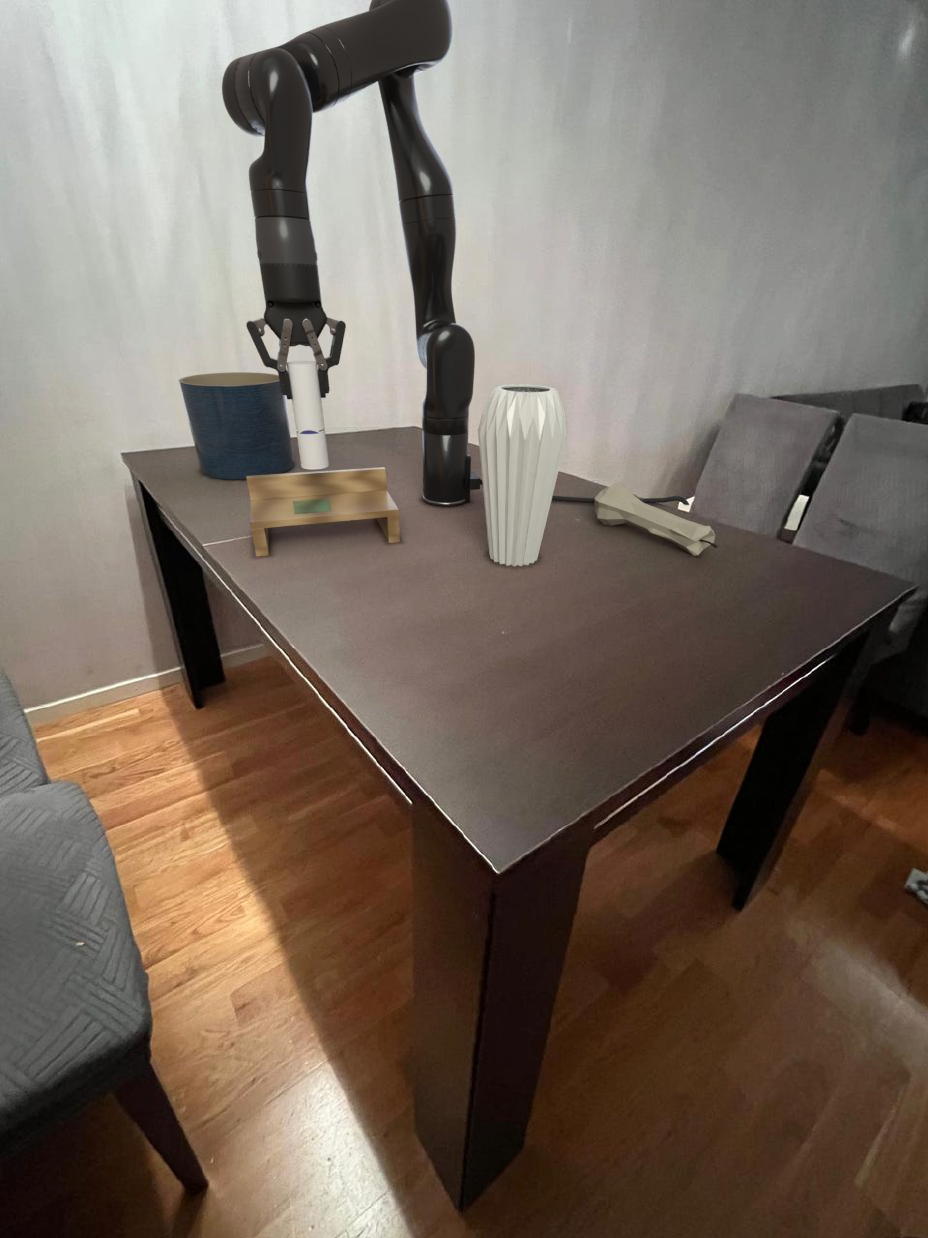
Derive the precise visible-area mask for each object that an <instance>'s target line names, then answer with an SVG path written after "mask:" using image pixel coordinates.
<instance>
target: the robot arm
mask: <svg viewBox="0 0 928 1238" xmlns="http://www.w3.org/2000/svg"><path fill="white" fill-rule="evenodd" d="M452 16H453V15H452V11H451V7H450V3H449V0H371V1H370V4H369V7H368V10H367V11H365V12H361V13H358V14H355V15H352V16H349V17H345V18H342V19H339V20H335V21H333V22H329V23H326V24H323V25H320V26H318V27H315V28H313V29H310V30H308V31H305V32H303V33H301V34H298V35H296V36H295V37H293V38H292V39H290V40H289V41H287V42H285V43H283V44H280V45H278V46H275V47H270V48H268V49H263V50H260V51H259V50H258V51H256V52H252V53H250V54H246V55H243V56H240V57H237V58H235V59H233V60H232V61H230V63H228V65H227V67H226V69H224V70H225V71H224V73H223V75H222V81H221V95H222V101H223V105H224V107H225V109H226V112H227V114H228V116H229V117H230V119H231V121H232V122H233V123H234V124H235V125H236V126H237V127H238V128H239V129H240V130H241V131H242V132H243V133H245V134H247V135H250V136H251V137H255V138H264V140H263V150H262V153H261V154H260V155H259V157H257V159H255V160H254V161H252V163H251V164H250V165H249V169H248V183H249V191H250V197H251V204H252V210H253V211H252V212H253V218H254V227H255V244H256V250H257V251H256V254H257V258H258V263H259V264H258V265H259V271H260V276H261V283H262V289H263V296H264V303H265V310H264V313H263V316H262V317H260V318H256V319H254V320H247V321H246V323H245V324H246V329H247V331H248V334H249V336H250V338H251V340H252V342H253V344H254V346H255V349H256V350H257V353H258V355H259V357H260V359H261V361H262V364H263V365H264V367H266V368H270V369H273V370H275V371H276V372H277V375H279V382H280V389H281V392H282V394H283V395H286V400H292V394H291V387H290V380H289V373H288V370H287V362H288V357H289V353H290V348H291V347H296V346H303V347H309V348H310V351H311V353H312V355H313V357H314V361H315V362H317V367H318V376H319V385H320V394H321V399H326V398H327V395H326V394H329V393H330V390H331V389H330V380H329V369H330V368H333V367H335V366H338V365H339V364H340V362H341V361H340V360H341V355H342V349H343V344H344V339H345V333H346V328H347V323H346V322H345V321H343V320H341V319H335V318H331V317H328V316H327V313H326V312H325V310H324V307H323V302H322V293H321V285H320V275H319V265H318V260H319V259H318V258H319V257H318V253H317V247H316V240H315V234H314V232H313V225H312V221H311V220H312V219H311V209H310V200H309V191H308V184H307V181H308V171H309V165H310V155H311V142H312V130H313V114H317V113H318V114H319V113H324V112H325V111H328V110H330V109H332V108H334V107H336V106H338V105H339V104H341V103H344V102H346V101H347V100H349V99H351V98H353V97H355V96H356V95H357V94H359V93H360V92H363V91H364V90H366V89H367V88H369V87H371V86H373V85H374V84H376V83H377V85H378V90H379V94H380V99H381V103H382V107H383V113H384V117H385V123H386V128H387V133H388V139H389V145H390V153H391V159H392V165H393V171H394V177H395V185H396V194H397V203H398V211H399V217H400V224H401V231H402V237H403V241H404V242H403V243H404V248H405V255H406V262H407V267H408V272H409V273H408V274H409V277H410V283H411V288H412V294H413V295H412V296H413V304H414V306H413V307H414V323H415V325H414V326H415V346H416V353H417V357H418V359H419V362H420V363H421V365H422V366H423V368H424V369H425V370H426V389H425V395H424V397H423V398H422V400H421V430H422V431H421V432H422V434H421V435H422V436H421V437H422V438H421V439H422V488H423V489H422V493H423V494H422V500H423V502H425V503H426V504H429V505H432V506H438V507H454V506H459V505H462V504H465V503H470V502H471V491H476V490H477V491H478V490H481V486H483V482H482V477H480V476H479V475H477V474H476V473H475V472H474V471H472V456H471V455H470V454H469V425H470V424H469V423H470V407H471V403H472V400H473V396H474V382H475V368H476V367H475V366H476V364H475V363H476V352H475V351H476V350H475V345H474V344H475V343H474V340H473V337H472V336H471V334H470V331H468V330H467V328H465V327H464V326H462V325H460V324H458V323H457V320H456V314H455V307H454V299H453V288H452V287H453V274H454V273H453V271H454V264H455V257H456V256H455V255H456V246H457V216H456V206H455V196H454V188H453V181H452V179H451V175H450V173H449V171H448V169H447V167H446V165H445V162H444V161H443V159H442V157H441V155H440V154H439V152H438V150H437V149H436V147H435V146H434V144H433V142H432V141H431V138H430V137H429V135H428V133H427V131H426V129H425V126H424V124H423V120H422V118H421V113H420V110H419V109H420V108H419V103H418V98H417V92H416V86H415V85H416V84H415V76H416V75H418V74H420V73H423V72H426V71H428V70H431V69H433V68H436V66H438V65H440V64H441V63H442V62H443V61H444V59H445V58H446V57H447V55H448V54H449V51H450V49H451V45H452V40H453V30H454V27H453V17H452ZM266 325H267V327H269V329H270V330H271V331H272V332H273V334H274V335H275V336H276V337H277V338H278V339H279V341H278V348H277V357H276V358H273V357H271V356H270V353H269V351H268V349H267V347H266V345H265V342H264V340H263V338H262V337H264V336H265V334H266V331H265V326H266ZM326 325H327V327H328V332H329V334H330V335H331V336H332V338H331V345H330V349H329V356H327V357H325V355H324V353H323V350H322V347H321V345H320V342H319V337H320V336H321V334H322V332H323V330H324V328H325V326H326ZM638 499H639V500H641V501H642V502H643V503H646V504H665V503H670V502H680V503H682V505H684V506H690V503H689V501H688V500H687V499H686V498H684V497H683V496H679V495H673V496H667V497H647V498H646V497H644V498H638ZM642 499H643V500H642ZM551 501H555V502H556V501H557V502H569V503H586V504H595V497H594V498H593V497H577V496H576V497H575V496H564V495H553V496H552V500H551Z"/></svg>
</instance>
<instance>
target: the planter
mask: <svg viewBox="0 0 928 1238" xmlns="http://www.w3.org/2000/svg"><path fill="white" fill-rule="evenodd" d="M178 384H179V389H180V392H181V396H182V401H183V404H184V405H183V406H184V409H185V413H186V417H187V422H188V426H189V430H190V433H191V437H192V439H193V444H194V448H195V452H196V454H197V459H198V463H199V467H200V471H201V473H202V474H203V475H204V476H207V477H210V478H213V479H217V480H229V481H232V480H233V481H243V480H246V481H247V479H246V477H247V476H254V475H270V474H285V473H286V472H287V471H289V470H291V469H292V468H293V467H294V456H293V448H292V447H293V446H292V438H291V430H290V419H289V409H288V403H287V401H288V400H287V396H286V395H283V394H282V392H281V389H280V382H279V375H278V374H275V373H267V372H248V371H247V372H244V371H243V372H242V371H241V372H240V371H238V372H212V373H201V374H193V375H188V376H183V377H181V378H179V379H178Z"/></svg>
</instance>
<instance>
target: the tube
mask: <svg viewBox="0 0 928 1238" xmlns="http://www.w3.org/2000/svg"><path fill="white" fill-rule="evenodd" d="M286 369H287V371H288V373H289V380H290V387H291V394H292V399H291V404H292V412H293V418H294V425H295V430H296V439H297V447H298V452H299V453H298V454H299V459H300V461H299V462H300V466H301V467H300V468H302V469H304V470H305V469H306V470H311V471H312V470H322V469H323V470H324V469H326V468H328V467H329V466H330V464H329V463H330V462H329V455H328V454H329V453H328V446H327V437H326V428H325V420H324V419H325V418H324V412H323V410H324V409H323V402H322V398H321V394H320V385H319V376H318V365H317V362H316V361H315V360H314V361H313V360H293V361H292V360H291V361H287V365H286Z"/></svg>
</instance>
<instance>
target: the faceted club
mask: <svg viewBox="0 0 928 1238" xmlns="http://www.w3.org/2000/svg"><path fill="white" fill-rule="evenodd" d="M594 498H595V503H594V512H595V514H596V518H597V519H598V520H599V522H601V524H602V525H603V526H610V527H611V526H616V525H621V524H626V523H627V524H630V525H632V526H634V527H636V528H639V529H641V530H644V531H645V532H648V533H650V534H652V535H655V536H657V537H659V538H661V539H664V540H667V541H669V542H672V543H674V544H675V545H676V546H678V547H680V548H681V549H683V550H684V551H686V552H687V553H689V554H691V555H692V556H694V557H695V556H696V557H697V556H699V555H700V554H701V553H702V552H703V551H704V550H705V549H706V548H708V547H710V546H711V547H713V548H715V549H717V548H718V547H719V546H718V545H717V544H715V540H716V534H715V532H714V529H712V527H711V525H704V524H701V523H698V522H694V521H691V520H688V519H685V518H683V517H680V516H677V515H675V514H673V513H671V512H668V511H665V510H663V509H660V508H658V507H656V506H653V505H650V504H649V503H643V502H642V501H641V500H639V499H640V498H638V497H636V496H635V495H634V494H633V492H632V491H631V489H630V488H629V487H628V486H627V485H626V484H625V483H624V482H623V481H621V480H620V481H618V482H616V483H613V484H611V485H609V486H607V487H604V488H603V489H602V490H601V491H599V493H598V494H596V495H595V497H594Z"/></svg>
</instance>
